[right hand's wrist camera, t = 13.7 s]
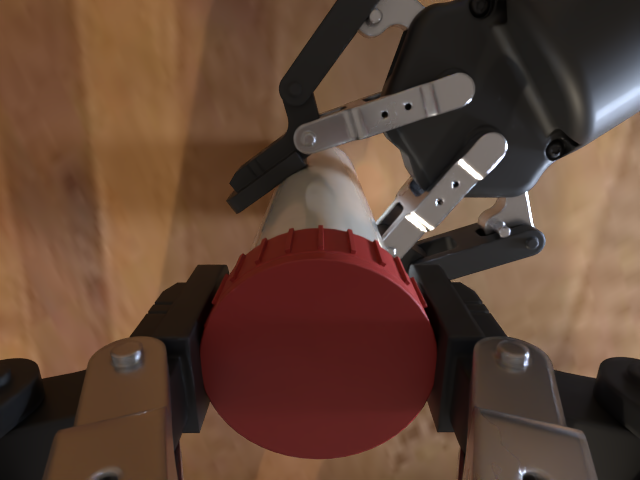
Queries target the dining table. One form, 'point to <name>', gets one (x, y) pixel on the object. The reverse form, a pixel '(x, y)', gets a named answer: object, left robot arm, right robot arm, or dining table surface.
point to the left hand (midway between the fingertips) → (270, 245)
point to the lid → (318, 345)
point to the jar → (320, 200)
